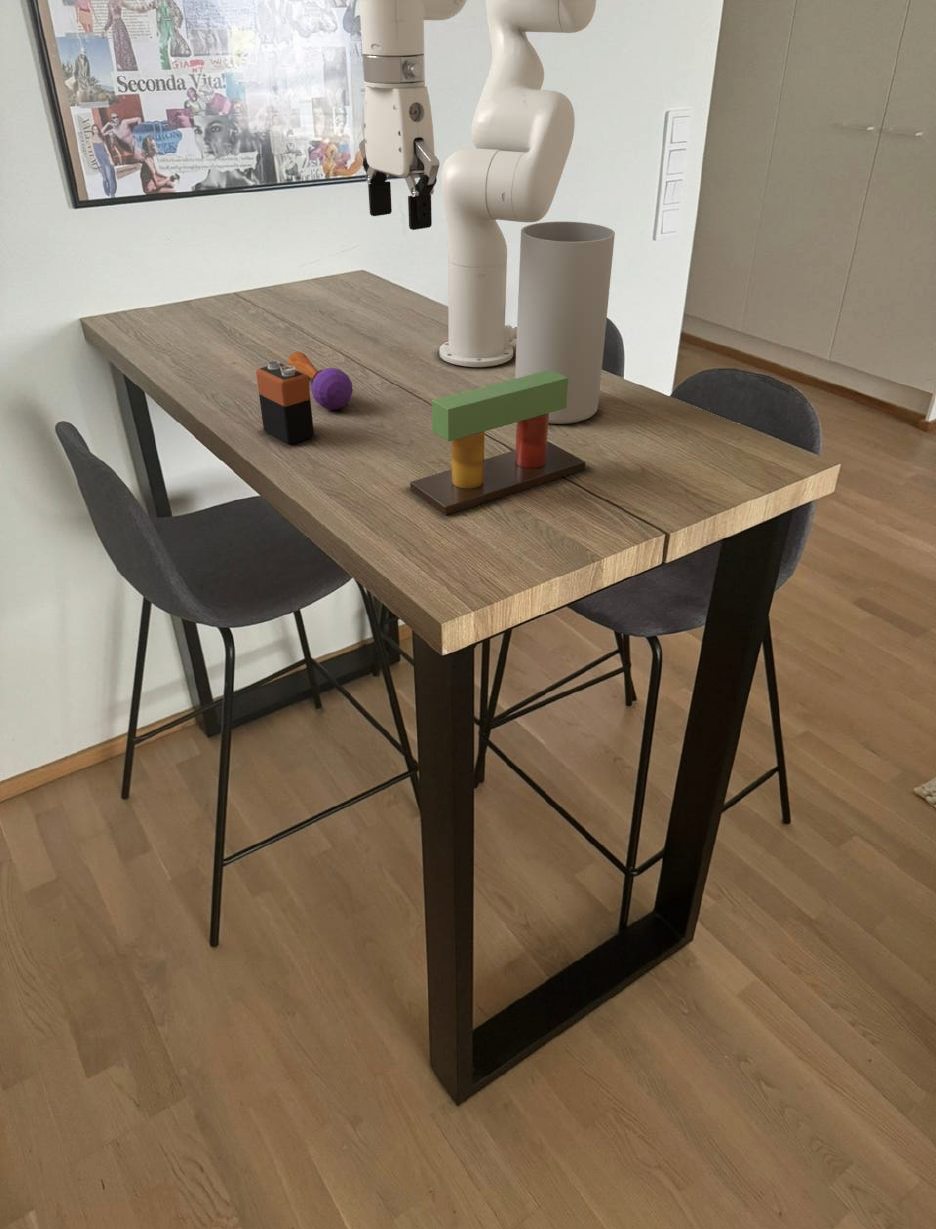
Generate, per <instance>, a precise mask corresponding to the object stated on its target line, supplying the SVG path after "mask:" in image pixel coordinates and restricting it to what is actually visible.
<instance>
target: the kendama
mask: <svg viewBox="0 0 936 1229" xmlns="http://www.w3.org/2000/svg"><path fill="white" fill-rule="evenodd" d="M287 364H288V366H294V367H295V369H296V370H298V371H300V372H302V373H305V374H307V375H308V379H311V387H310V388H311V395H312V397H313V399H314V401H315V402H316V403H317V404H318V405H320V406H321V407H322V408H324V409H326V410H330V411H333V410H334V411H335V410H339V409H342V408H343V407H345V406H346V405H348V404H349V401H350V400H351V398H352V395H353V382H352V380H351V378H350V377H349V375H347V374H346V373H345V372H344V371H343V370H341V369H340V368H335V367H328V368H324V369H320V370H319V371H318V370H317V368H316V367H315V366H314V365H313V363H312V362H311V361H310V359H309V358H308V356H307V355H306V354H305V353H304V352H303V351H302V352H301V351H294V352H293V353H291V354H290V355H289V357H288V359H287Z"/></svg>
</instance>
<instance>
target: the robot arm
mask: <svg viewBox="0 0 936 1229" xmlns="http://www.w3.org/2000/svg"><path fill="white" fill-rule="evenodd" d="M467 1H468V0H357V2H358V4H359V20H360V36H361V37H360V38H361V54H362V71H363V86H364V88H365V89H364V90H365V91H364V105H363V106H364V108H363V110H364V111H363V112H364V113H363V118H364V120H363V121H364V124H363V125H364V126H363V127H364V132H363V133H364V138H363V140H361V141H360V143H359V144H358V146H359V147H358V149H359V151H360V155H361V159H362V167H363V169H364V171H365V181H366V183H367V190H368V206H369V214H370V216H372V217H380V216H386V215H390V214H392V211H393V210H392V188H391V187H392V186H391V185H392V184H391V181H388V178H389V176H394V177H397V178H401V179H402V178H403V179H404V181H405V183H406V185H407V187H408V190H409V193H410V195H408V196H407V210H408V228H409V229H410V230H411V231H415V230H417V231H418V230H422V229H428V228H429V229H430V228H431V227H432V225H433V224H432V223H433V222H432V220H433V219H432V216H433V215H432V195H434V191H435V189H434V187H435V186H436V184H437V180H438V179H437V177H438V173H439V169H440V160H439V159H438V157H437V156H436V155H435V154H436V153H435V138H434V125H433V124H434V123H433V115H432V114H433V113H432V107H431V102H430V95H429V91H428V86H426V64H425V62H426V61H425V59H426V58H425V24H424V23H425V22H424V21H446V20H449V19H452V18H453V17H455V16H457V15H458V14H459V13H460V12H461V11H462V10H463V8H464V7H465V5H466V3H467ZM596 6H597V0H485V12H486V19H487V20H486V22H487V28H488V36H489V42H490V49H491V57H492V58H491V64H490V68H489V72H488V75H487V77H486V80H485V83H484V87H483V89H482V92H481V95H480V97H479V100H478V103H477V105H476V108H475V110H474V115H473V116H472V117H473V118H472V120H471V121H472V122H471V126H470V136H471V141H472V143H473V145H474V147H475V148H474V147H473V148H472V147H470V148H464V149H463V148H462V149H460V150H456V151H455V152H453V153H451V154H450V155H449V156H448V157H447V158H446V160H445V162H444V163H443V166H442V169H441V174H440V187H441V188H440V189H441V194H442V201H443V206H444V212H445V220H446V228H447V229H446V230H447V231H446V232H447V287H448V288H447V291H448V292H447V299H448V300H447V301H448V303H447V304H448V305H447V306H448V309H447V310H448V312H447V313H448V315H447V317H448V318H447V320H448V321H447V322H448V341H446V342H444V343H442V344H441V346H440V347H439V357H440V359H442V360H443V361H445V362H447V363H449V364H451V365H454V366H460V367H467V368H486V367H487V368H488V367H495V366H500V365H502V364H505V363H508V362H509V361H510V360H512V359H513V358H514V348H513V345H511V344H510V343H511V342H513V340H514V339H517V326H515V327H512V325H511V324H506V306H507V305H506V303H507V272H508V270H507V268H508V246H507V241H506V239H505V235H504V234H503V231H502V229H501V227H500V226H499V223H498V221H497V220H499V221H507V222H517V223H538V222H539V221H541V220H543V218H544V217H545V216H546V215H547V213H548V212H549V210H550V208H551V206H552V203H553V201H554V198H555V195H556V192H557V189H558V186H559V183H560V180H561V177H562V174H563V171H564V168H565V166H566V164H567V160H568V157H569V155H570V151H571V148H572V144H573V140H574V136H575V127H576V126H575V125H576V121H575V118H576V117H575V111H574V106H573V103H572V101H571V100H570V98H569V97H568V96H567V95H565V94H564V93H562V92H559V91H555V90H549V89H542V87H543V84H544V81H545V80H544V79H545V68H544V65H543V62H542V60H541V58H540V56H539V54H538V52H537V50H536V49H535V47H534V45H533V44H532V43H531V42H530V41H529V39H528V36H527V33H555V34H556V33H558V34H572V33H578V32H581V31H584V29H587V27H588V26H589V24H590V23H591V22H592V20H593V17H594V15H595V11H596ZM416 179H418V181H416Z"/></svg>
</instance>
